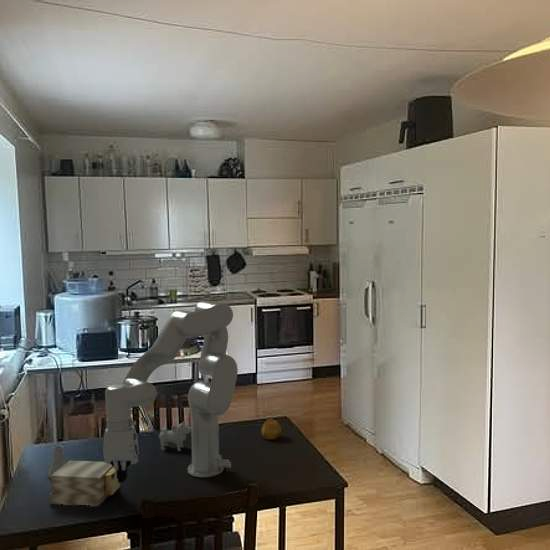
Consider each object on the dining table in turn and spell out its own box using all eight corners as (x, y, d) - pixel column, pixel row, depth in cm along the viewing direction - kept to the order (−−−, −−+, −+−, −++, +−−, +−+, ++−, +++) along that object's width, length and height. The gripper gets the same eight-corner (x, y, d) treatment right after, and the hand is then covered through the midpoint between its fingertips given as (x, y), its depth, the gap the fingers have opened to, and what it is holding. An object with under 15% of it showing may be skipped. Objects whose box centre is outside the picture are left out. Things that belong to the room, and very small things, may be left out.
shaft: (120, 486, 174) (119, 466, 174) (111, 495, 168) (111, 475, 167) (61, 483, 177) (60, 464, 176) (50, 492, 170) (49, 472, 170)
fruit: (258, 428, 226) (261, 415, 221) (277, 428, 228) (280, 415, 223) (261, 444, 219) (264, 431, 215) (280, 444, 221) (284, 431, 217)
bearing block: (117, 486, 178) (117, 461, 178) (99, 506, 164) (98, 479, 164) (72, 483, 180) (71, 459, 180) (49, 503, 166) (48, 477, 166)
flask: (56, 481, 182) (55, 452, 182) (43, 476, 186) (42, 448, 185) (74, 473, 188) (73, 445, 188) (61, 469, 192) (60, 442, 192)
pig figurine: (189, 451, 207) (189, 424, 207) (158, 450, 209) (157, 423, 208) (193, 446, 212) (193, 420, 212) (162, 445, 214) (162, 419, 213)
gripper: (146, 420, 172) (149, 475, 174) (101, 420, 174) (104, 475, 175) (138, 428, 165) (141, 486, 166) (91, 428, 166) (94, 486, 167)
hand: (122, 480), depth 170 cm, fingers closed
